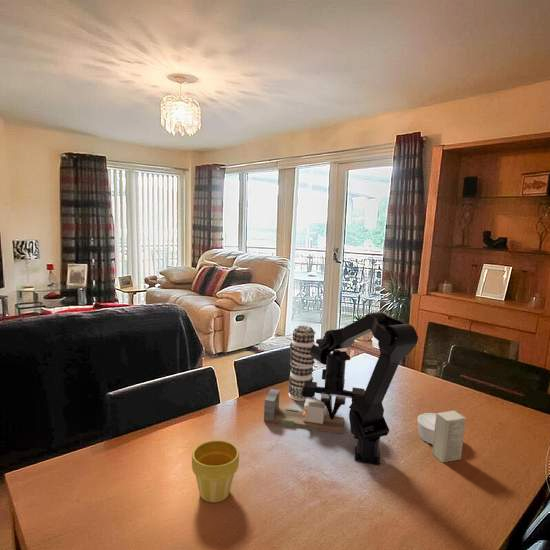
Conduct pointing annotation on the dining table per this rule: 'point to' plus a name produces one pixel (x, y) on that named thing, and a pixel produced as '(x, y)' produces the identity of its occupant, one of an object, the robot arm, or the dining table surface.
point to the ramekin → (427, 426)
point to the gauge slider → (314, 411)
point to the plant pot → (215, 468)
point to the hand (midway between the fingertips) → (331, 418)
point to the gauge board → (296, 416)
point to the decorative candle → (300, 361)
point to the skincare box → (448, 436)
